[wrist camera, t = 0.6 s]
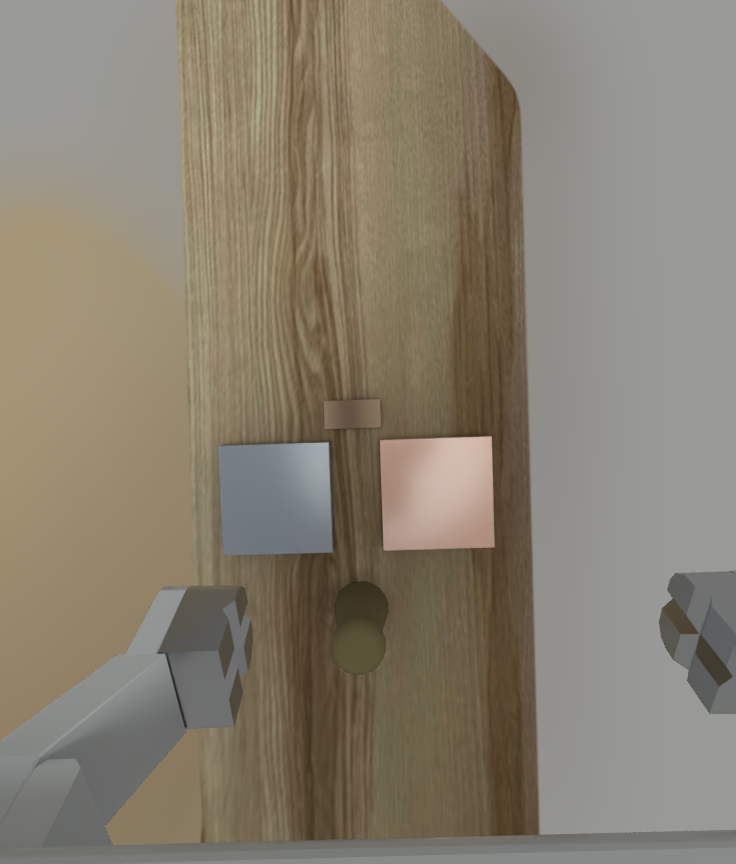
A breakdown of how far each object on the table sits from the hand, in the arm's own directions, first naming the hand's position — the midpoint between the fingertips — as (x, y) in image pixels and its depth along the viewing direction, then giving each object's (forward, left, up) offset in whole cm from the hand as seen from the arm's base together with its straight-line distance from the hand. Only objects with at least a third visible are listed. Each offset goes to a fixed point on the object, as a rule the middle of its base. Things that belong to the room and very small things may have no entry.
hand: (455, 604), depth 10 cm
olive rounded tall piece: (-14, +12, -47) cm, 51 cm away
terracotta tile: (-7, -2, -47) cm, 48 cm away
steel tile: (+1, +14, -47) cm, 49 cm away
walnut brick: (+5, +2, -47) cm, 48 cm away
